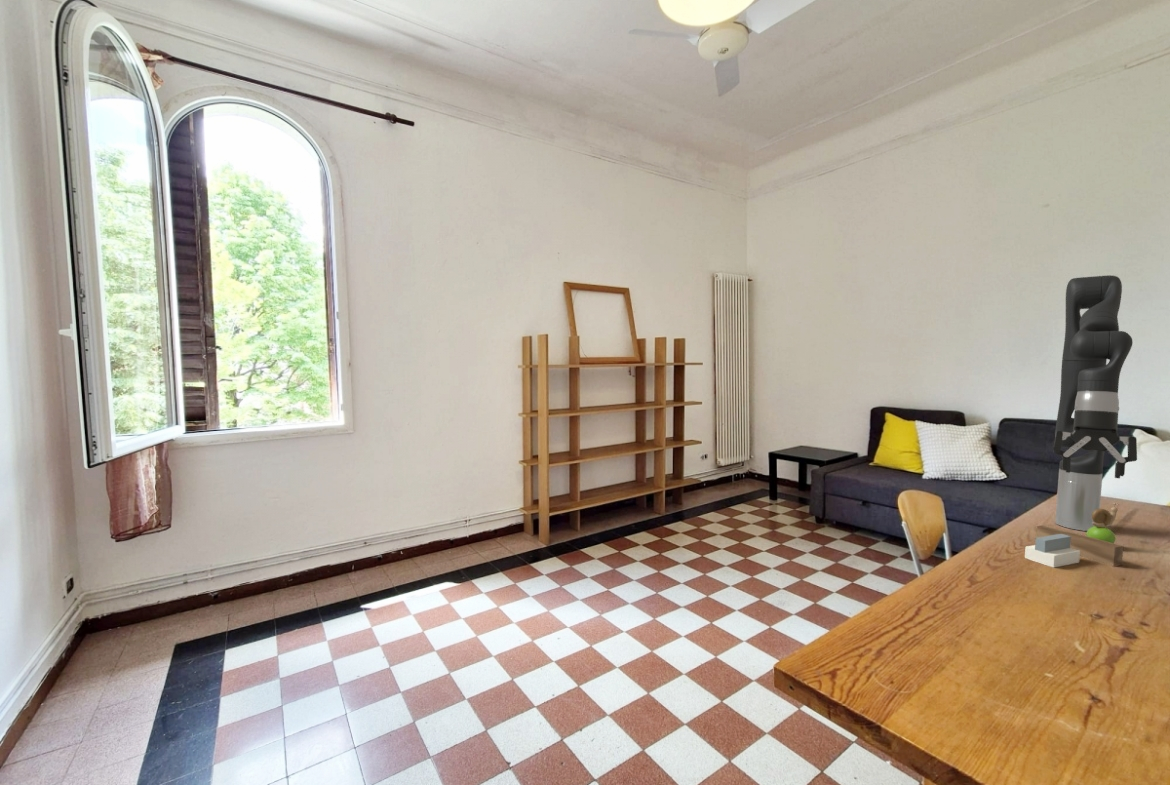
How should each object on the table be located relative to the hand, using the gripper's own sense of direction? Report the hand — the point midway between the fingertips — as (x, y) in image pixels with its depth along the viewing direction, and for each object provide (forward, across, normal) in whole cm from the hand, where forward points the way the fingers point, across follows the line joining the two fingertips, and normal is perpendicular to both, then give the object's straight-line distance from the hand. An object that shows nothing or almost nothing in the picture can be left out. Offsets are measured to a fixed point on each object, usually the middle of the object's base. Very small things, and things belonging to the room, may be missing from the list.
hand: (1091, 475), depth 120 cm
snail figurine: (+20, -4, -22) cm, 30 cm away
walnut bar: (+21, +1, -10) cm, 24 cm away
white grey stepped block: (+23, +6, +1) cm, 23 cm away
